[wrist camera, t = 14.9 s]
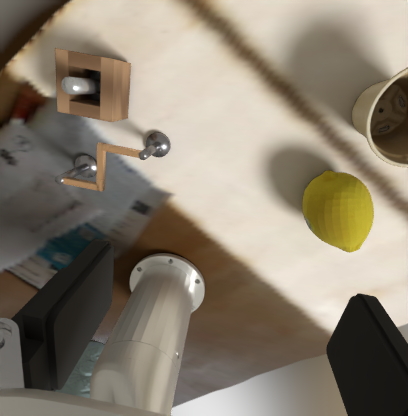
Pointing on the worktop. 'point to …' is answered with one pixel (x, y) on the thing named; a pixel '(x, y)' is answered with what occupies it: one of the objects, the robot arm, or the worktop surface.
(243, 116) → the worktop surface
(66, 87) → the peg stand
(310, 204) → the lemon
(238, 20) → the worktop surface
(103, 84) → the open wooden box
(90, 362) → the light blue cup
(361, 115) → the flower pot
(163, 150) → the buzz wire
